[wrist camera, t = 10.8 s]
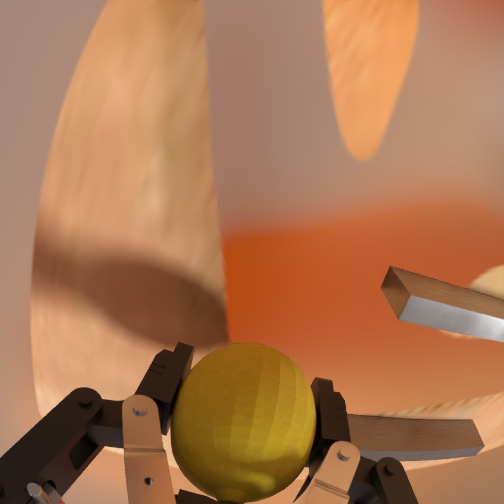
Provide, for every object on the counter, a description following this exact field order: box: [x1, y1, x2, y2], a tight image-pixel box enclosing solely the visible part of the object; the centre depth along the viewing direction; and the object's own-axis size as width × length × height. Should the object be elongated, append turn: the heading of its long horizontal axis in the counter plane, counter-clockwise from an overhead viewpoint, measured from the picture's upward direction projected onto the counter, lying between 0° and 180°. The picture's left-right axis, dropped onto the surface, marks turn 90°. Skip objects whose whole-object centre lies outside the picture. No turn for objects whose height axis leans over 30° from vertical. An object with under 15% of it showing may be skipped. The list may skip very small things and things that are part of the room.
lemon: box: [170, 343, 316, 504], centre depth 11 cm, size 6×6×8 cm
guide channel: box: [347, 266, 504, 461], centre depth 15 cm, size 11×14×3 cm
